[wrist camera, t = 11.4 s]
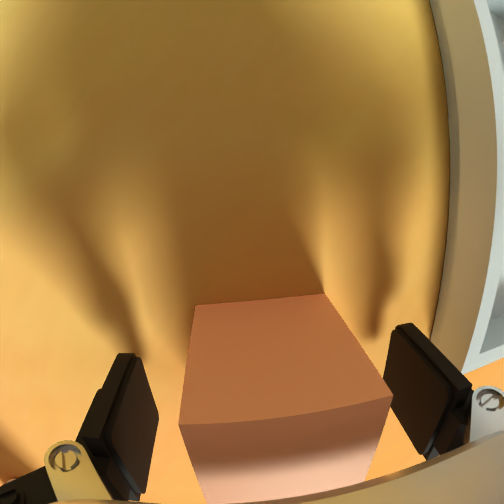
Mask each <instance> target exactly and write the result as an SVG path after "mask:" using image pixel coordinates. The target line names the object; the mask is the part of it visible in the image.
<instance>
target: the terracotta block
mask: <svg viewBox="0 0 504 504" xmlns="http://www.w3.org/2000/svg"><path fill="white" fill-rule="evenodd" d="M392 398H393V394H392V392H391V390H390V389H389V387H388V386H387V384H386V383H385V381H384V380H383V378H382V377H381V375H380V374H379V372H378V371H377V369H376V368H375V366H374V365H373V363H372V362H371V360H370V359H369V357H368V356H367V354H366V353H365V351H364V350H363V348H362V347H361V345H360V344H359V342H358V341H357V339H356V338H355V337H354V335H353V334H352V332H351V331H350V329H349V328H348V326H347V325H346V323H345V322H344V320H343V319H342V318H341V316H340V315H339V313H338V312H337V310H336V309H335V307H334V306H333V305H332V303H331V302H330V300H329V299H328V297H327V296H326V295H325V293H322V294H313V295H304V296H294V297H285V298H274V299H264V300H253V301H241V302H229V303H217V304H203V305H195V311H194V317H193V324H192V330H191V337H190V343H189V350H188V356H187V363H186V370H185V377H184V385H183V392H182V400H181V408H180V416H179V424H178V425H179V428H180V431H181V434H182V437H183V440H184V443H185V446H186V449H187V452H188V455H189V457H190V460H191V463H192V466H193V468H194V471H195V474H196V477H197V479H198V482H199V484H200V487H201V489H202V492H203V495H204V497H205V499H206V502H207V504H231V503H246V502H257V501H267V500H275V499H283V498H290V497H296V496H302V495H308V494H314V493H319V492H324V491H328V490H333V489H337V488H342V487H346V486H350V485H354V484H358V483H361V482H364V480H365V477H366V475H367V472H368V470H369V467H370V465H371V462H372V459H373V457H374V454H375V451H376V448H377V445H378V443H379V440H380V437H381V434H382V431H383V428H384V425H385V422H386V418H387V415H388V412H389V408H390V405H391V402H392Z"/></svg>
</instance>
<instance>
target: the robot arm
mask: <svg viewBox="0 0 504 504" xmlns="http://www.w3.org/2000/svg"><path fill="white" fill-rule="evenodd" d="M383 380H384V381H385V383H386V384H387V386H388V387H389V389H390V390H391V392H392V394H393V398H392V402H391V405H390V407H391V408H392V410H393V412H394V413H395V415H396V417H397V418H398V420H399V422H400V423H401V425H402V427H403V428H404V430H405V432H406V433H407V435H408V437H409V438H410V440H411V442H412V443H413V445H414V447H415V449H416V450H417V452H418V453H419V454H420V455H422V454H423V456H424V457H425V459H426V461H425V462H422V463H420V464H417V465H415V466H412V467H409V468H406V469H403V470H401V471H398V472H395V473H392V474H389V475H385V476H382V477H379V478H376V479H372V480H369V481H365V482H361V483H358V484H354V485H350V486H346V487H342V488H337V489H333V490H328V491H324V492H319V493H314V494H308V495H302V496H296V497H290V498H283V499H275V500H267V501H257V502H246V503H231V504H504V392H503V391H502V390H500V389H498V388H496V387H493V386H483V387H479V388H478V389H476V390H475V391H473V390H472V389H471V387H472V384H471V383H470V382H469V381H468V380H467V378H466V377H465V376H464V375H463V374H462V373H461V372H460V371H459V370H458V369H457V368H456V367H455V366H454V365H453V364H452V363H451V362H450V361H449V360H448V359H447V357H446V356H445V355H444V354H443V353H442V352H441V351H440V350H439V349H438V348H437V347H436V346H435V345H434V344H433V343H432V342H431V341H430V340H429V339H428V338H427V337H426V336H425V335H424V334H423V333H422V332H421V331H420V330H419V329H418V328H417V327H416V326H415V325H414V324H413V323H406V324H401V325H397V326H396V328H395V330H393V331H392V333H391V338H390V344H389V350H388V355H387V360H386V366H385V371H384V375H383ZM158 421H159V414H158V410H157V407H156V404H155V401H154V398H153V395H152V392H151V389H150V386H149V383H148V380H147V377H146V373H145V370H144V367H143V363H142V360H141V358H140V357H136V355H135V354H134V353H119V354H118V355H117V356H116V359H115V361H114V363H113V365H112V367H111V369H110V371H109V373H108V376H107V378H106V380H105V382H104V384H103V387H102V389H99V390H98V391H97V393H96V395H95V397H94V399H93V401H92V404H91V406H90V408H89V410H88V413H87V415H86V417H85V420H84V422H83V424H82V427H81V429H80V431H79V434H78V436H77V438H76V441H68V440H65V441H61V442H58V443H56V444H54V445H52V446H51V447H50V448H49V449H48V450H47V452H46V453H45V457H44V463H45V466H44V467H42V468H39V469H37V470H35V471H33V472H31V473H29V474H26V475H24V476H22V477H20V478H17V479H15V480H13V481H10V482H8V483H6V484H4V485H2V486H1V487H0V504H159V503H144V502H132V501H140V495H141V493H142V494H144V493H145V492H146V487H147V481H148V475H149V469H150V464H151V458H152V453H153V447H154V442H155V437H156V431H157V426H158ZM439 455H440V456H439ZM128 500H132V501H128Z"/></svg>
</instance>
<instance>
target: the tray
mask: <svg viewBox="0 0 504 504" xmlns="http://www.w3.org/2000/svg"><path fill="white" fill-rule="evenodd" d="M429 1H430V5H431V9H432V13H433V17H434V21H435V26H436V31H437V35H438V41H439V46H440V51H441V57H442V64H443V70H444V78H445V86H446V95H447V105H448V117H449V134H450V201H449V219H448V231H447V242H446V251H445V260H444V268H443V275H442V281H441V288H440V294H439V300H438V305H437V310H436V315H435V320H434V325H433V330H432V334H431V338H430V341H431V342H432V343H433V344H434V345H435V346H436V347H437V348H438V349H439V350H440V351H441V352H442V353H443V354H444V355H445V356H446V357H447V359H448V360H449V361H450V362H451V363H452V364H453V365H454V366H455V367H456V368H457V369H458V370H459V371H460V372H461V373H462V374H465V373H468V372H470V371H473V370H475V369H478V368H480V367H482V366H485V365H487V364H489V363H492V362H494V361H496V360H499V359H501V358H503V357H504V48H503V44H502V42H504V0H429Z"/></svg>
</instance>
